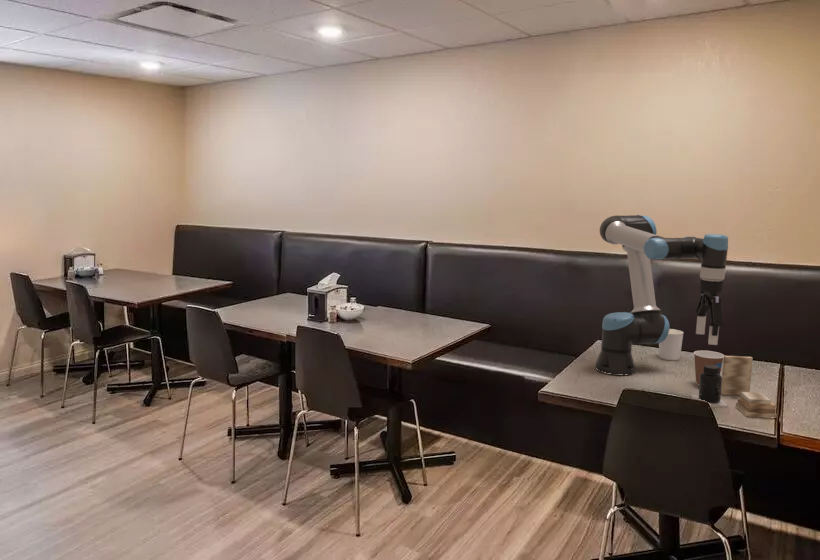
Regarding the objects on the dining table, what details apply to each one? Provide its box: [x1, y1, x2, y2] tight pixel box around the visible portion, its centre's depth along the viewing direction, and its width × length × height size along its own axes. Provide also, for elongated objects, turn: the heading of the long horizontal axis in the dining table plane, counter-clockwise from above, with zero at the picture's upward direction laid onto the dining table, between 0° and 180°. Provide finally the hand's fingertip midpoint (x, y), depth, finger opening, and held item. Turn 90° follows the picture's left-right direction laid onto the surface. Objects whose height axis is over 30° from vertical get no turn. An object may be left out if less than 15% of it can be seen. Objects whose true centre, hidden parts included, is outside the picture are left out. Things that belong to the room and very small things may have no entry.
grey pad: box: [690, 394, 729, 409], centre depth 201 cm, size 9×9×1 cm
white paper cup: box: [658, 328, 684, 361], centre depth 254 cm, size 10×10×12 cm
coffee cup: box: [693, 350, 725, 386], centre depth 218 cm, size 10×10×12 cm
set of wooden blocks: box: [721, 355, 778, 419], centre depth 197 cm, size 9×23×14 cm, turn 171°
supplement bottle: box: [698, 365, 722, 403], centre depth 200 cm, size 7×7×12 cm
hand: (706, 339), depth 203 cm, fingers open, 13 cm apart
